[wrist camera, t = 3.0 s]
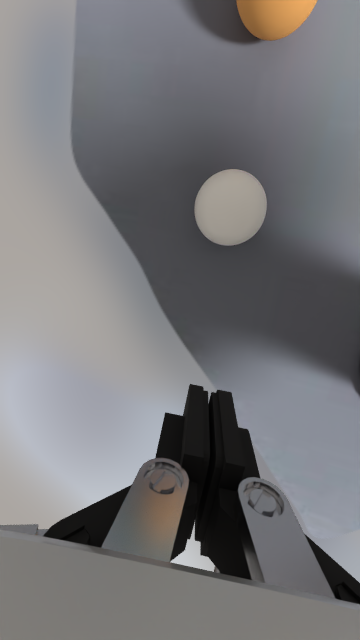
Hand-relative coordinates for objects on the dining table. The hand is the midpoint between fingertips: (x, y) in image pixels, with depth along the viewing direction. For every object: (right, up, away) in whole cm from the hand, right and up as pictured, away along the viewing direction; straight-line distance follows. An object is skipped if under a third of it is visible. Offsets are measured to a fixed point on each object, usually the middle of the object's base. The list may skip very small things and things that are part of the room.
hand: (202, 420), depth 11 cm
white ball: (+3, +13, +11) cm, 17 cm away
